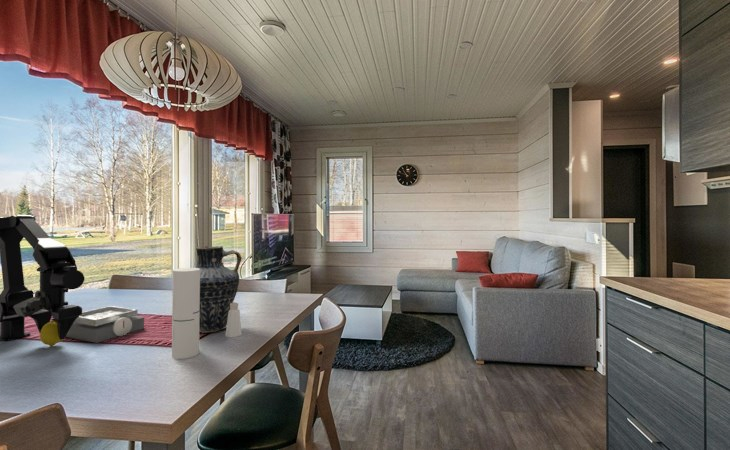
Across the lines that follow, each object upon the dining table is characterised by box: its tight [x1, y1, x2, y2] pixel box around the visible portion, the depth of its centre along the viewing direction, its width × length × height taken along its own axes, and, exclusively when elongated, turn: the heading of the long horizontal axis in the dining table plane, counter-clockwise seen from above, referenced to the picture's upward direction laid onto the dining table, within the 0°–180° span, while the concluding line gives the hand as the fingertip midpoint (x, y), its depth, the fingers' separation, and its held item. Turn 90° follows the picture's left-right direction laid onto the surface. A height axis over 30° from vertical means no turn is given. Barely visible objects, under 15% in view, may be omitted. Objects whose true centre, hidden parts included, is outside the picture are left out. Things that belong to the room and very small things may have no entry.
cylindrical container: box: [171, 267, 200, 360], centre depth 102 cm, size 7×7×25 cm
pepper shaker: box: [225, 302, 242, 339], centre depth 120 cm, size 5×5×11 cm
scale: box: [65, 315, 145, 344], centre depth 120 cm, size 19×16×6 cm
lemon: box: [39, 320, 63, 347], centre depth 107 cm, size 6×6×8 cm
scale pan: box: [74, 305, 139, 326], centre depth 121 cm, size 14×14×2 cm
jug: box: [194, 245, 243, 333], centre depth 126 cm, size 21×19×30 cm
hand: (52, 337), depth 107 cm, fingers open, 9 cm apart
